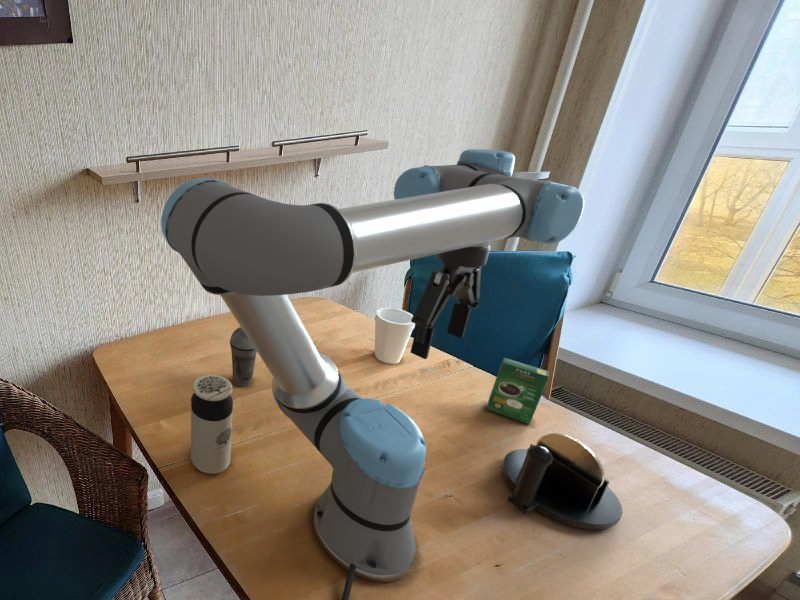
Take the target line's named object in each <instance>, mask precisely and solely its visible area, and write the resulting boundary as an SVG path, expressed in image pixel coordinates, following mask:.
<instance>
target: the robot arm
mask: <svg viewBox="0 0 800 600" xmlns="http://www.w3.org/2000/svg"><path fill="white" fill-rule="evenodd" d="M515 162H516V156H515V155H514V153H512V152H510V151H506V150H499V149H484V148H483V149H482V148H477V149H476V148H475V149H474V148H473V149H471V148H469V149H466V150H464V151H462V152H461V153H460V156H459V158H458V160H457V162H456V164H445V165H427V164H425V165H422V166H418V167H417V166H416V167H412V168H408V169H406V170H405V171H403V172H402V173H401V174H400V175H399V176H398V178H397V179H396V181H395V183H394V187H393V188H394V189H393V198H394V199H389V200H385V201H379V202H372V203H366V204H361V205H360V204H359V205H354V206H349V207H348V206H347V207H343V208H338V207H337V206H334V205H333V204H330V203H327V202H318V203H311V204H291V203H284V202H279V201H274V200H272V199H267V198H265V197H262V196H259V195H257V194H254V193H252V192H248V191H246V190H242V189H240V188H237V187H235V186H232V185H229V183H227V182H225V181H224V180H221V179H217V178H208V177H207V178H206V177H198V178H194V179H190V180H188V181H186V182H185V183H182V184H180V185H179V186H178V187H177V188H176V189H174V191H173V192H172V193H171V194H170V195H169V197H168V198H167V200H166V202H165V204H164V206H163V209H162V214H161V219H160V221H161V222H160V225H161V226H160V227H161V232H162V235H163V237H164V238H165V240H166V243H167V244H168V246H169V248H170V249H172V250H173V251H175V252H176V253H178V255H180V256H181V258H182V259H183V261H184V262H185V263H186V265H187V266H188V268H189V269H190V271H191V272H192V274H193V275H194V277H195V278H196V280H197V281H198V282H199V284H200V285H201V287H202V289H203V290H205V292H206V293H209V294H210V295H214V296H220V298H221V299H222V300H223V302H224V303H225V305H226V306H227V308H228V309H229V311H230V313H231V315H232V316H233V317H234V319H235V320H236V321H237V323H238V325H239V327H241V328H242V329H243V331H244V332H245V334H246V335H247V337H248V339H249V340H250V342H251V343H252V345H253V346H254V348H255V349H256V351H257V354H258V356H259V357H260V358H261V360H262V362H263V364H264V365H265V366H266V368H267V369H268V371H269V372H270V374H271V375H272V379H271V390H272V396H273V399H274V401H275V402H276V404H277V406H278V408H279V409H280V411H281V412H282V414H284V416H286V417H287V418H288V419H289V420H290V421H291V422H292V423H293V425H295V426H296V428H297V429H299V430H300V432H301V434H302V435H303V436H305V437H306V439H307V440H308V441H309V442H310V443H311V444H312V445H313V446H314V448H315V449H316V450H317V451H318V452H319V453H320V454H321V456H323V457H324V459H325V460H326V461H327V463H329V465H330V467H332V474H331V481H330V483H329V485H328V486H327V487H326V489H325V490H324V492H323V493H321V495H320V496H319V498H318V500H317V502H316V504H315V507H314V511H313V528H314V532H315V536H316V538H317V541H318V542H319V544H320V546H321V547H322V549H323V550H324V551H325V553H326V554H327V555H328V556H329V558H331V560H333V562H335V563H336V564H337V565H338V566H340V568H342V569H343V570H345V571H347V575H346V579H345V583H344V587H343V593H342V596H341V600H349V599H350V595H351V590H352V585H353V581H354V578H355V577H358V578H360V579H363V580H366V581H370V582H375V583H392V582H396V581H398V580H400V579H402V578H404V577H405V576H406V575H408V573H410V570H411V569H412V567H413V565H414V561H415V557H416V553H417V546H416V545H417V544H416V537H415V534H414V529H413V523H412V518H411V517H412V512H413V510H414V505H415V501H416V498H417V495H418V490H419V488H420V483H421V480H422V479H423V477H424V474H425V469H426V455H427V445H426V440H425V438H424V437H425V436H424V434H423V433H422V430H421V429H420V428H419V426H418V425H417V424H416V423H415V421H414V420H413V419H412V418H411V417H410V416H409V415H408V414H406V413H405V412H403V410H401V409H400V408H398V407H396V406H394V405H392V404H390V403H387V404H384V403H383V401H381V400H379V399H374V398H363V397H362V396H360V395H359V394H358V393H357V392H356V391H354V390H353V389H352V388H351V387H350V386H349V384H347V383H346V381H345V380H344V378H343V376H342V374H341V372H340V370H339V368H338V367H337V365H336V364H335V362H334V361H333V359H332V358H330V357H329V356H327V355H326V354H324V353H321V352H319V351H318V349H317V348H316V345H315V344H314V342H313V340H312V338H311V336H310V335H309V333H308V331H307V329H306V327H305V325H304V323H303V321H302V319H301V318H300V316H299V314H298V312H297V311H296V309H295V307H294V305H293V303H292V301H291V300H290V298H289V295H296V294H303V293H309V292H316V291H320V290H324V289H328V288H333V287H337V286H341V285H342V284H344V283H346V282H347V281H348V280H349V278H351V275H352V274H354V273H359V272H363V271H367V270H372V269H377V268H380V267H384V266H389V265H394V264H398V263H403V262H407V261H411V260H412V261H413V260H416V259H420V258H421V259H422V258H426V257H431V256H434V255H435V257H436V259H437V260H439V261H441V262H442V263H443V266H442V267H441V269H440V270H439V271H436V270H432V272H431V274H430V277H429V281H428V284H427V286H426V287H425V290H424V292H423V294H422V295H421V298H420V301H419V303H418V305H417V308H416V309H415V311H414V313H413V314H412V315H413V317H412V320H411V322H412V323H415V325H416V326H415V327H416V328H415V331H414V336H413V340H412V344H411V349H410V354H413V355H415V356H417V357H419V358H420V359H423V360H427V359H428V357H429V353H430V349H431V346H432V341H433V338H434V334H435V330H436V326H434V325H435V323H436V321H437V320H438V318H439V316H440V315H441V313H442V312H443V309H444V308H445V307H446V305H447V303H448V302H449V300H450V298H454V297H455V296H456V300H457V302H455V303H454V304H453V307H452V312H451V315H450V319H449V323H448V326H447V330H446V333H447V334H450V335H451V336H454V337H457V338H459V339H462V338H464V335H465V332H466V328H467V326H468V323H469V318H470V315H471V311H472V308H474V309H478V307H479V305H480V303H479V302H478V301H479V300H480V297H481V273H482V267H484V266H486V264H487V261H488V258H489V254H490V251H491V248H492V247H491V245H490V244H491V243H492V242H496V241H501V240H507V239H511V238H521V239H524V240H527V241H529V242H535V243H541V244H548V245H549V244H551V245H552V244H556V243H559V242H561V241H563V240H564V239H566V238H567V237H569V236H570V235H571V234H572V233H573V231H574V230H575V229H576V228H577V226H578V224H579V222H580V220H581V218H582V215H583V212H584V208H585V199H584V195H583V193H582V192H581V190H579V189H578V188H577V187H574V186H571V185H567V184H562V183H558V182H553V181H552V180H538V179H531V178H524V177H517V176H513V172H514V168H515V167H514V166H515Z"/></svg>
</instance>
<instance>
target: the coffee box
mask: <svg viewBox="0 0 800 600" xmlns="http://www.w3.org/2000/svg"><path fill="white" fill-rule="evenodd" d="M549 379H550V372H549V370H546V369H542V368H539V367H536V366H532V365H530V364H526V363H523V362H520V361H516V360H513V359H511V358H507V357H503V359H502V362H501V364H500V367H499V369H498V372H497V374H496V377H495V381H494V383H493V386H492V389H491V392H490V394H489V397H488V401H487V404H486V410H488V411H491V412H493V413H495V414H498V415H501V416H504V417H507V418H510V419H512V420H514V421H518V422H520V423H524V424H527V425H531V422H532V420H533V417H534V416H535V415H534V414H535V412H536V410H537V408H538V405H539V403H540V400H541V398H542V395H543V393H544V391H545V388H546V387H547V384H548V381H549Z"/></svg>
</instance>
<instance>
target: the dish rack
mask: <svg viewBox="0 0 800 600" xmlns="http://www.w3.org/2000/svg"><path fill="white" fill-rule="evenodd" d="M501 466H502V472H503V475H504V477H505V479H506V481H507V482H508V483H509V484H511V485H510V486H511V487H513V488H514V489H515V490H514V489H513V488H512V489H513V490H514V491H513V493H512V494H510V495H508V496H507V498H506V501H507V502H508V503H510V504H511V505H512V506H514V507H515V508H516V509H517V510H518V511H520V512H521V513H522V514H524V515H527V514H529V513H531V512H534V511H535V510H537V508H539V509H541V510H542V511H544V512H546V513H548V514H550V515H552V516H554V517H556V518H558V519H560V520H563V521H565V522H568V523H571V524H574V525H578V526H581V527H586V528H585V529H587V528H594V529H596V530H601V529H602V530H604V529H609V528H610V529H611V527H614V526H616V525H617V524H618V523H619V521H620V520H621V518H622V515H623V507H622V504H621V501H620V499H619V497H617V495H616V494H615V492H614V491H613V490H612V489H611V488H610V487H609V484H610V480H608V479H606V478H605V477H606V476H605V470H604V467H603V464H602V463H601V461H600V459H599V458H598V456H597V455H596V454H595V453H594V452H593V450H591V448H589V447H588V446H587V445H585V444H584V443H583V442H581V441H580V440H578V439H576V438H574V437H572V436H570V435H566V434H563V433H556V432H555V433H554V432H553V433H548V434H544V435H543V436H541V437H539V439H538V440H537V441H536V444H533V443H531V444H530V445H529V447H528V448H520V449H514V450H511V451H510V452H508V453H507V454H506V455H505V456H504V457H503V461H502V464H501Z"/></svg>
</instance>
